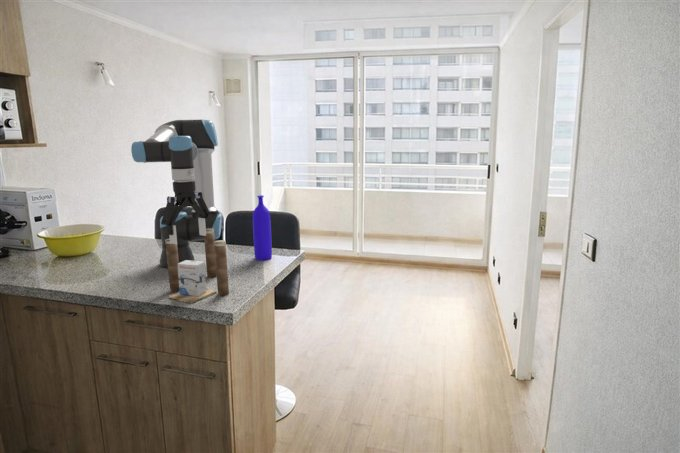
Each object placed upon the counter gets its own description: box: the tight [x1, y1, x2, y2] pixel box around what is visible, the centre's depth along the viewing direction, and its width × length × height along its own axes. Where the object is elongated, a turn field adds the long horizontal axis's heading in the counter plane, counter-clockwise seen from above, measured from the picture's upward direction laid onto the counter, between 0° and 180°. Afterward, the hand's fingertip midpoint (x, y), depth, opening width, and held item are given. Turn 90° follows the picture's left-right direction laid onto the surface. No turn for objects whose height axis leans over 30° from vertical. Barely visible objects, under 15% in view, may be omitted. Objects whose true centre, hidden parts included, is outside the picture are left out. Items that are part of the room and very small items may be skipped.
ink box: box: [178, 260, 207, 296], centre depth 162 cm, size 9×5×12 cm, turn 73°
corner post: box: [214, 239, 230, 297], centre depth 162 cm, size 4×4×20 cm
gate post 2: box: [203, 228, 217, 279], centre depth 183 cm, size 4×4×20 cm
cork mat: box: [167, 288, 217, 304], centre depth 163 cm, size 12×12×1 cm
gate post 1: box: [165, 238, 179, 293], centre depth 167 cm, size 4×4×20 cm
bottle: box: [252, 194, 273, 261], centre depth 208 cm, size 8×8×30 cm
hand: (188, 239), depth 160 cm, fingers open, 13 cm apart
